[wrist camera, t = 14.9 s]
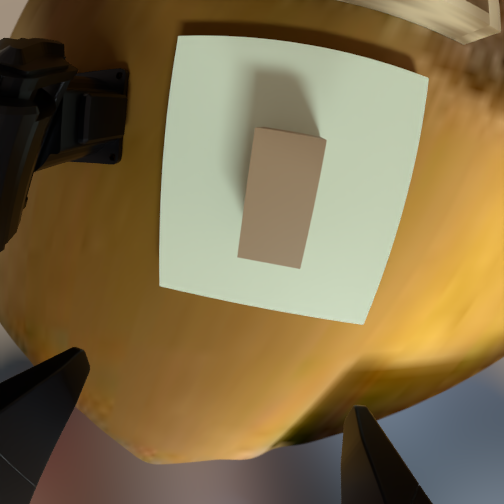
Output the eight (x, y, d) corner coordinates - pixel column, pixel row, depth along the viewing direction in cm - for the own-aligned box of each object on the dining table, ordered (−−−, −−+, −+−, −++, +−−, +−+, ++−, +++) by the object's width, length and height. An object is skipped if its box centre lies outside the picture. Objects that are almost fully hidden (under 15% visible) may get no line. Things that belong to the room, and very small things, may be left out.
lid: (170, 272, 22) (137, 315, 17) (189, 43, 15) (151, 19, 10) (358, 308, 21) (371, 360, 16) (415, 81, 14) (457, 70, 9)
